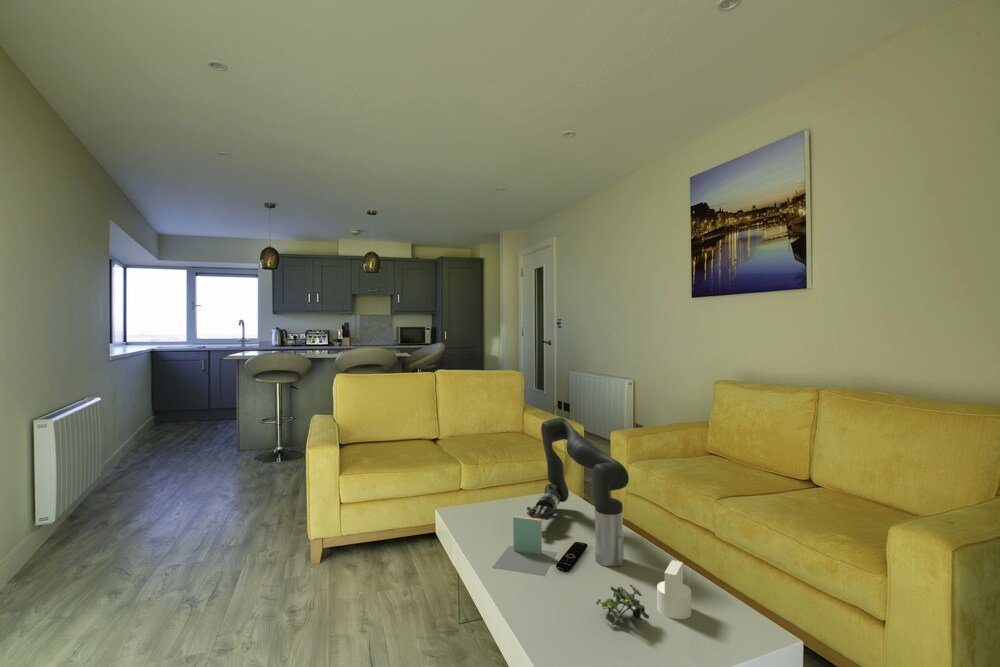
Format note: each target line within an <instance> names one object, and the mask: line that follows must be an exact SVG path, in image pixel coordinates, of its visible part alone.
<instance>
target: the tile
mask: <svg viewBox="0 0 1000 667" xmlns="http://www.w3.org/2000/svg"><path fill="white" fill-rule="evenodd" d="M512 520H513V525H512V526H513V531H512V532H513V546H514V551H517V552H524V553H531V554H538V555H541V554H542V550H543V526H542V523H543V520H542V519H538V518H531V517H530V516H528V517H527V516H519V515H514V516H513V518H512Z"/></svg>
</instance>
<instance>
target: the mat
mask: <svg viewBox="0 0 1000 667" xmlns="http://www.w3.org/2000/svg"><path fill="white" fill-rule="evenodd" d="M557 553H558V552H557V551H550V550H544V549H542V554H541V555H538V554H531V553H524V552H517V551H514V545H508V546H507V547H506V548H505V550H504V551H503V552H502V554H501V555H500V556H499V558H498V559H497V560H496V562H495V563H494V564H493V566H492V567H491V568H492V569H497V570H504V571H511V572H517V573H522V574H531V575H537V576H541V577H545V576H546V575H547V573H548V571H549V569H550V567H551V566H552V564H553V561H554V560H555V558H556V556H557Z"/></svg>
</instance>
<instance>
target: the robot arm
mask: <svg viewBox="0 0 1000 667" xmlns="http://www.w3.org/2000/svg"><path fill="white" fill-rule="evenodd" d="M540 425H541V427H540V431H541V432H540V433H541V438H542V443H543V449H544V453H545V459H546V466H547V467H546V468H547V471H546V472H547V480H548V482H549V483H547V484H546V485H545V488H544V494H543V495H542V496H541V497H540V498H539V499H538V501H537V502H536V504H535V505H534V506H532V507H530V506H527V507H526V514H527V516H528V517H529V518H538V519H542V521H543V520H545V521H548V520H551V519H556V518H558V515H559V514H558V510H557V509H558V506H559V505H560V503H565V502H566V501H567V500H568V499H569V496H570V495H569V494H570V492H569V488H568V485H567V482H566V480H565V470H564V469H565V468H564V462H563V460H562V458H561V457H560V456H559V455H558V454H557V452H556V451H555V450H554V447H553V443H556V442H558V441H559V442H560V441H563V440H566V441H567V442H566V453H567V454H568V456H569V458H571V459H572V460H573V461H574V462H575V463H576V464H577V465H580V466H582V467H584V468H587V469H590V470H592V473H591V476H592V477H591V478H592V498H593V503H594V528H595V529H594V532H595V533H594V534H595V535H594V538H595V540H594V542H595V546H594V550H595V553H594V554H595V561H596V562H597V564H600V565H602V566H606V567H617V566H619V567H620V566H621V567H623V563H624V560H625V558H624V557H625V552H624V551H625V549H624V548H625V544H624V541H625V540H624V539H625V538H624V529H623V528H624V524H623V522H624V521H623V513H624V512H623V509H624V508H623V502H622V501H620V500H619V499H617V498H614V497H611V496H610V492H611V491H612V492H613V491H617V490H622V489H624V488H626V487H627V485H628V484H629V480H630V479H629V478H630V477H629V473H628V471H627V469H626V468H625V466H624V465H623V464H622V463H621V462H620V461H618V460H617V459H615V458H613V457H611V456H609V455H608V454H606V453H605V452H603V451H602V450H600V448H598V447H596V446H595V445H594V444H593V443H592V442H591V441H589V440H588V438H586V437H584V436H583V435H581V434H580V433H579V432H578V431H577V430H576V428H574V427H573V426H572V425H571V423H569V422H568V421H567V420H566V419H565V418H563V417H556V418H552V419H548V420H544V421H543V422H542V423H541V424H540Z"/></svg>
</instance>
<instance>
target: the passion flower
mask: <svg viewBox="0 0 1000 667" xmlns="http://www.w3.org/2000/svg"><path fill="white" fill-rule="evenodd" d="M609 586H610V587H609V588H610V590H611V591H613V595H612V598H607V599H606V600H605V601H603V602H602V601H601V599H600V598H598V599H597V601H596V605H597V606H598V605H599V603H600V604H601V609H602V610H607V612H606V614H605V620H607V619H608V617H609V615H610V614H611V613H612V612H613V618H614V619H613V623H612V625H611V626H614V625H615V624H616V622H617V621H618V620H619V619H621V618H622V615H623V614H624V613H626V611H628V610H630V611H631V612H632V615H633V617H634V618H635V619H636V620H639V621H643V619H642V617H643V618H645V619H647V620H648V619H650V615H649V614H648V613H647V612H646V607H645V606H644V605H643V604H642V603H641V600H639V599H637V598H636V597H635V595H638V596H640V597H643V594H641V592H640V591H639V589H638V588H637V587H635V586H634V585H633V584H629V586H630V588H631V589H632V590H633V593H629V592H628V591H627V590H626V589H625V588H623V587H622V586H617V587H616V588H615V587H613V586H612V584H610V585H609ZM613 598H615V600H614V599H613ZM622 604H623V605H622ZM619 605H622V608H621V609H620V610H619V608H618V606H619ZM625 606H626V607H627V608H626V609H625V610H623V608H624V607H625ZM615 610H616V611H615Z"/></svg>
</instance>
